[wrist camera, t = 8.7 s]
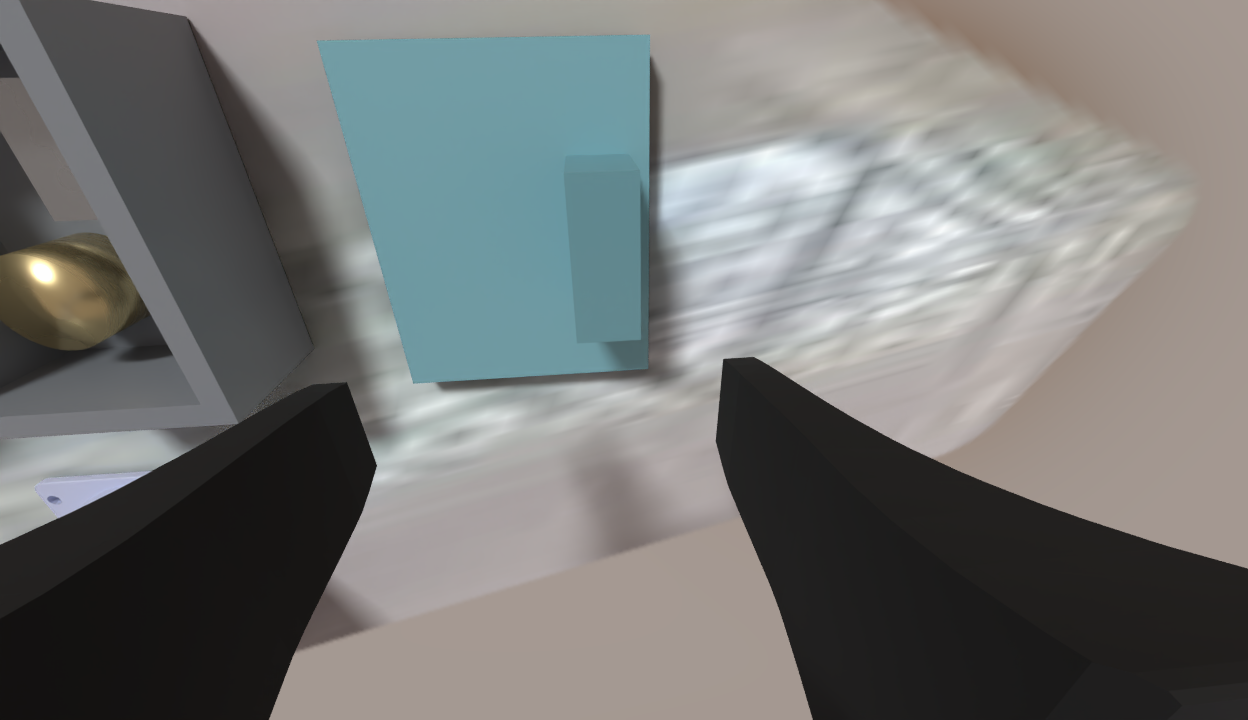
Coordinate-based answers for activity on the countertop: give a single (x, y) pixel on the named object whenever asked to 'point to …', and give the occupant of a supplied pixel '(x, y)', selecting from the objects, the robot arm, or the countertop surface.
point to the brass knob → (68, 292)
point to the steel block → (40, 154)
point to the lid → (504, 197)
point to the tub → (142, 229)
